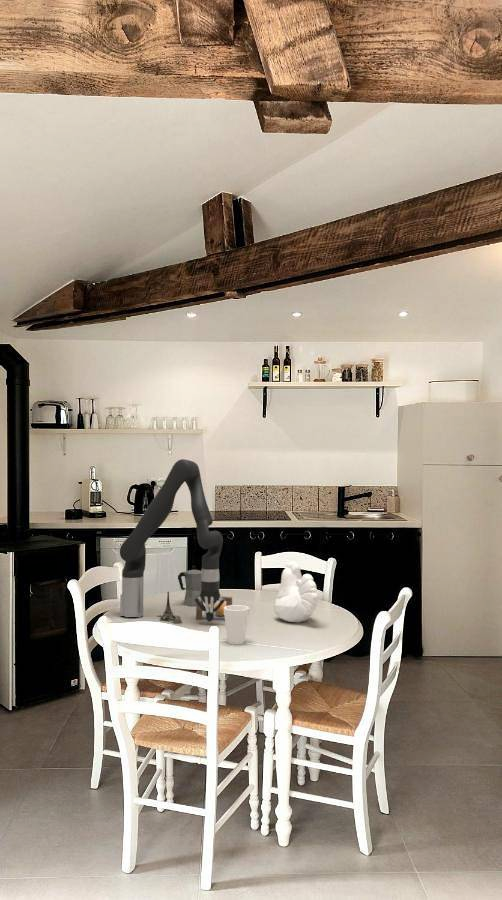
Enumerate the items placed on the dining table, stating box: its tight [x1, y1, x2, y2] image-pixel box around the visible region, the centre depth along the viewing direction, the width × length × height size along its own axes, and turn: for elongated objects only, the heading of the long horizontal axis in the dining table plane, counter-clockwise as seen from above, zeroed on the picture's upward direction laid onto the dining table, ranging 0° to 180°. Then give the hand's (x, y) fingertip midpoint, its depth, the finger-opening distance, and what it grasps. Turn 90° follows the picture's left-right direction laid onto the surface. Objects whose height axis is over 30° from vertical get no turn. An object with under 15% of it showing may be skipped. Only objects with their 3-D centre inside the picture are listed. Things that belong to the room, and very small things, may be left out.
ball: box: [214, 602, 226, 616], centre depth 313 cm, size 6×6×6 cm
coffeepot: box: [177, 565, 204, 607], centre depth 335 cm, size 15×9×18 cm, turn 129°
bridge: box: [195, 596, 233, 621], centre depth 306 cm, size 3×15×10 cm, turn 82°
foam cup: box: [224, 604, 250, 646], centre depth 271 cm, size 10×9×13 cm
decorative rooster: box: [273, 560, 319, 623], centre depth 303 cm, size 25×16×25 cm, turn 16°
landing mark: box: [202, 612, 225, 620], centre depth 314 cm, size 12×12×1 cm
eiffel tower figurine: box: [156, 591, 183, 624], centre depth 306 cm, size 15×10×13 cm
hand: (209, 621), depth 297 cm, fingers closed
